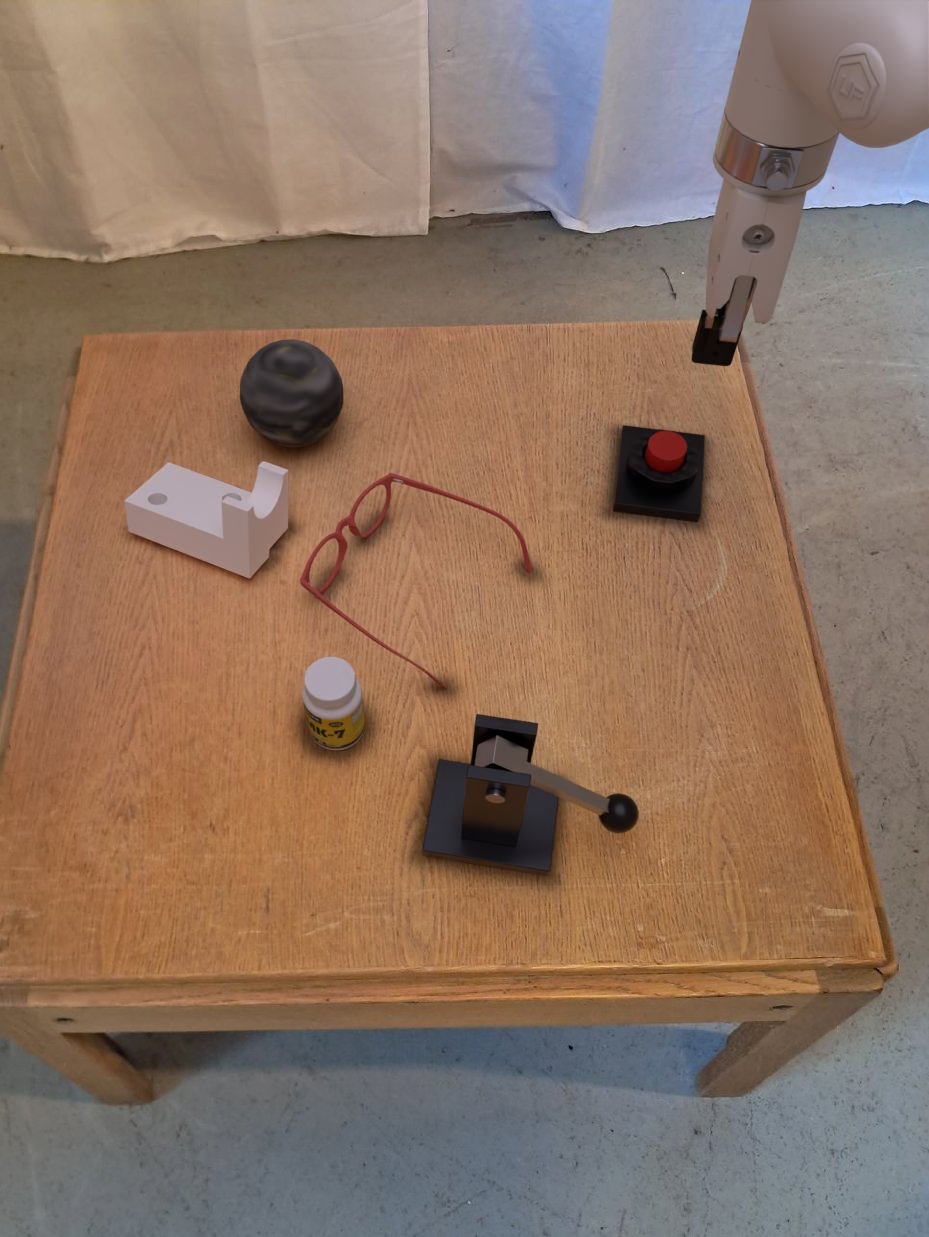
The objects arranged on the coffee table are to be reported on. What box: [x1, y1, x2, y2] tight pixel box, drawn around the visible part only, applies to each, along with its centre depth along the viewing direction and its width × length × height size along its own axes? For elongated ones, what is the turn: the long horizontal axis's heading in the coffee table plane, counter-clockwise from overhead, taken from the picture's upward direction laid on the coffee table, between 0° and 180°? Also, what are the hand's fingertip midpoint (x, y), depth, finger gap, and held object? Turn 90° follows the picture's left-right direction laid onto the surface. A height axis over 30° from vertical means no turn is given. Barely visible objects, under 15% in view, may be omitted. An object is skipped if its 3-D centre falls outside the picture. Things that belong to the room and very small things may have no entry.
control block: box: [612, 424, 706, 523], centre depth 97 cm, size 10×8×3 cm
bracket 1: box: [124, 460, 289, 580], centre depth 93 cm, size 13×7×8 cm, turn 65°
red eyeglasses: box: [299, 472, 533, 689], centre depth 90 cm, size 17×16×5 cm
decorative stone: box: [239, 338, 344, 448], centre depth 98 cm, size 10×10×10 cm
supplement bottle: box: [301, 656, 366, 751], centre depth 82 cm, size 5×5×8 cm
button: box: [645, 430, 687, 472], centre depth 96 cm, size 4×4×2 cm
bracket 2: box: [421, 713, 560, 877], centre depth 76 cm, size 10×8×13 cm
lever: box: [474, 735, 640, 834], centre depth 74 cm, size 14×3×3 cm
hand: (710, 357), depth 83 cm, fingers closed
